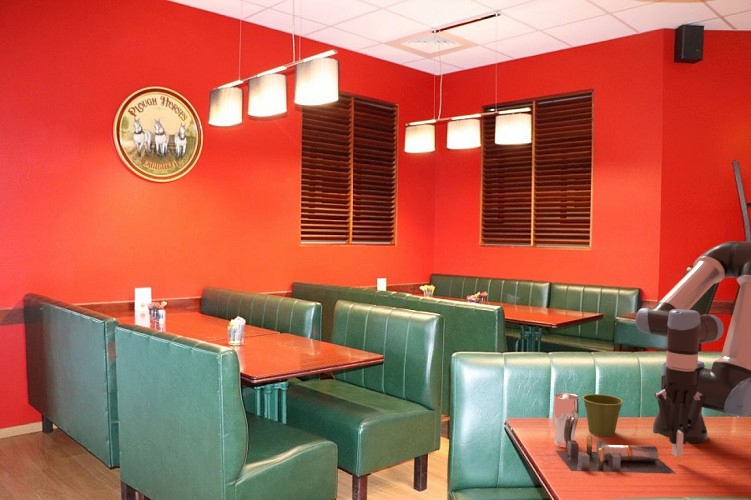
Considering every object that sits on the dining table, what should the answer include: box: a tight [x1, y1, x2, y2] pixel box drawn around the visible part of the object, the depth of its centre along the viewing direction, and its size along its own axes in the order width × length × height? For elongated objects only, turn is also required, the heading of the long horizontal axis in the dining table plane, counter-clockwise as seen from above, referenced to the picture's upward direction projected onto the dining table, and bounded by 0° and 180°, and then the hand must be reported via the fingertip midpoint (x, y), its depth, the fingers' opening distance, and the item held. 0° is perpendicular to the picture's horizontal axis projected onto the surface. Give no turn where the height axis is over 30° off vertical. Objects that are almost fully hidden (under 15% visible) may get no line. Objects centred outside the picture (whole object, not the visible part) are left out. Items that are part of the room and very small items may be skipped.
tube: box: [601, 444, 659, 462], centre depth 166 cm, size 14×4×4 cm, turn 90°
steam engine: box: [555, 435, 677, 475], centre depth 165 cm, size 27×14×6 cm, turn 90°
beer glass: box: [552, 392, 580, 449], centre depth 177 cm, size 7×7×15 cm
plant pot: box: [581, 393, 624, 437], centre depth 189 cm, size 12×12×11 cm
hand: (676, 455), depth 165 cm, fingers closed
